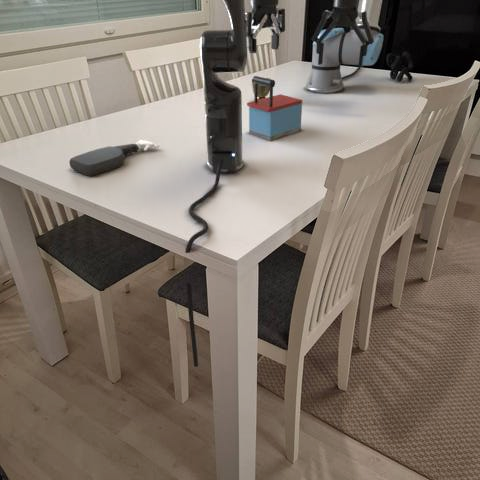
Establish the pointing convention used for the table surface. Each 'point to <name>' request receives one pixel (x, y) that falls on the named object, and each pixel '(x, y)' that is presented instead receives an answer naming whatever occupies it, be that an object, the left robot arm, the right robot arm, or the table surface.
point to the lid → (272, 101)
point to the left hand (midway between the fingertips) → (263, 51)
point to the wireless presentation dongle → (106, 157)
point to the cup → (262, 91)
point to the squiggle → (399, 66)
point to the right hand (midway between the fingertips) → (339, 65)
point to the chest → (275, 122)
